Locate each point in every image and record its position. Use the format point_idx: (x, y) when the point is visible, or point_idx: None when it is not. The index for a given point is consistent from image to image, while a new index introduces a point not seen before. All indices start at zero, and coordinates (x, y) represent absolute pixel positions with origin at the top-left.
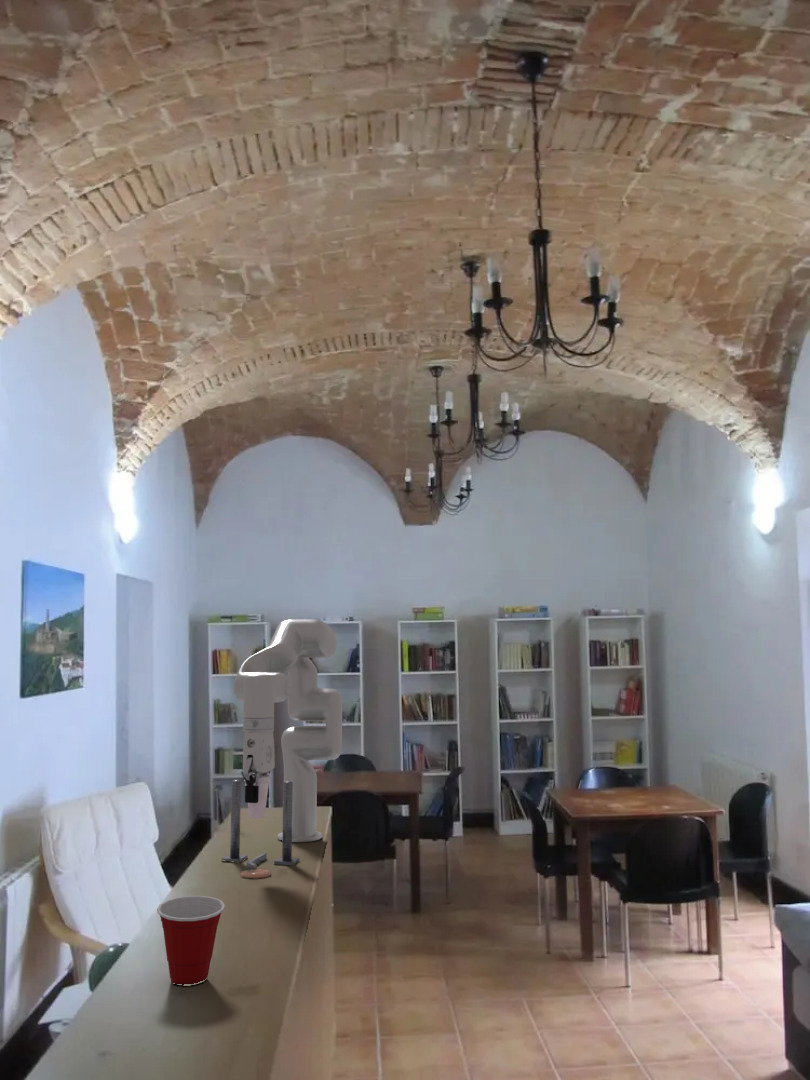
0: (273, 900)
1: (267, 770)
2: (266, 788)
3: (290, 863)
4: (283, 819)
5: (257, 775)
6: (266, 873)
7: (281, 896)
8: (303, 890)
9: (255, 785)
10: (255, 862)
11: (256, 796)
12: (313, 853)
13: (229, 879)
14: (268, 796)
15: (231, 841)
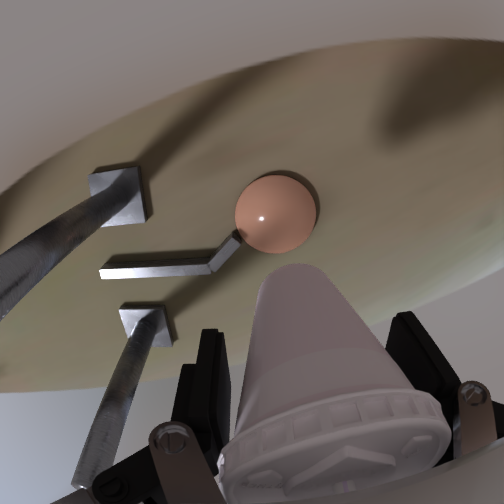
0: (468, 97)
1: (427, 488)
2: (358, 351)
3: (139, 173)
4: (71, 249)
5: (485, 445)
6: (279, 183)
7: (443, 86)
8: (389, 46)
9: (478, 382)
10: (176, 262)
11: (424, 337)
12: (20, 182)
13: (330, 257)
14: (213, 332)
15: (146, 357)
